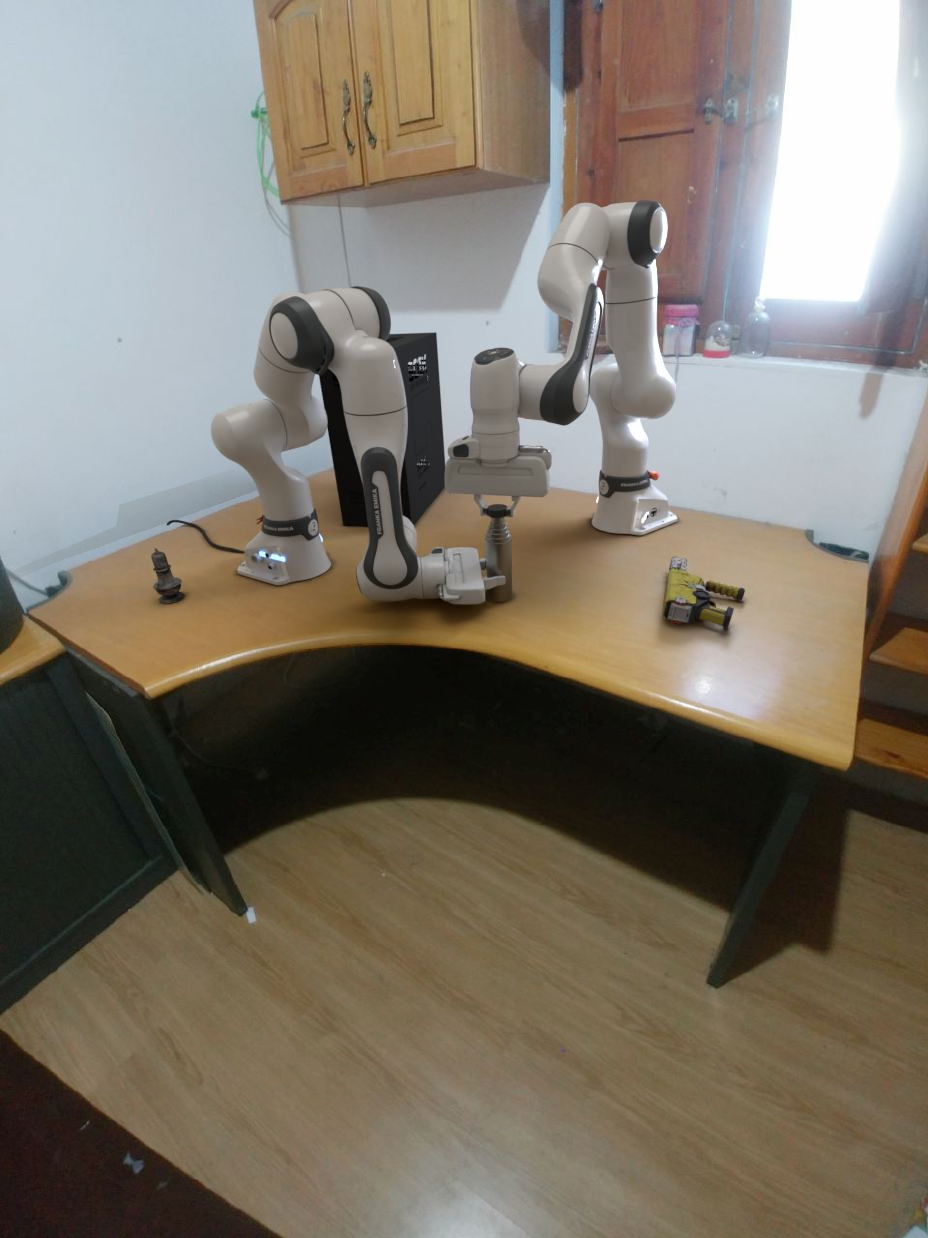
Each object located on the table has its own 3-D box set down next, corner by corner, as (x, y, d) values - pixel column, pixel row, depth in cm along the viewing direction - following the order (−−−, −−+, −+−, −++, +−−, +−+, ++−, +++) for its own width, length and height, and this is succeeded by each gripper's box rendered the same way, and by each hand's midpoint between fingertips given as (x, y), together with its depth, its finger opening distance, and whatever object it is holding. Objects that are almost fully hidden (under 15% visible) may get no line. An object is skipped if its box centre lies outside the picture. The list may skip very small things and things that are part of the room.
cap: (483, 514, 119) (483, 507, 118) (498, 509, 121) (498, 502, 120) (497, 519, 116) (496, 512, 115) (512, 514, 118) (511, 506, 117)
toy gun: (744, 566, 127) (671, 553, 131) (753, 616, 107) (666, 600, 111) (738, 586, 129) (666, 573, 133) (745, 639, 109) (660, 622, 113)
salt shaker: (175, 604, 132) (159, 554, 126) (152, 603, 133) (134, 553, 127) (191, 592, 137) (176, 543, 131) (168, 591, 138) (152, 542, 132)
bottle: (516, 593, 129) (515, 507, 119) (506, 604, 125) (504, 516, 115) (493, 588, 131) (490, 504, 121) (483, 599, 127) (479, 513, 117)
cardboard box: (411, 527, 164) (393, 348, 142) (343, 525, 169) (314, 350, 146) (446, 484, 196) (436, 332, 173) (387, 483, 200) (370, 334, 178)
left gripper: (436, 585, 114) (509, 580, 114) (434, 543, 132) (497, 539, 132) (439, 614, 117) (509, 609, 118) (437, 569, 135) (498, 565, 135)
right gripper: (554, 441, 112) (552, 512, 118) (449, 439, 117) (453, 507, 124) (549, 450, 106) (547, 524, 113) (439, 448, 112) (444, 518, 119)
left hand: (503, 572), depth 125 cm, fingers closed on bottle, 5 cm apart
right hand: (497, 515), depth 119 cm, fingers closed on cap, 4 cm apart
